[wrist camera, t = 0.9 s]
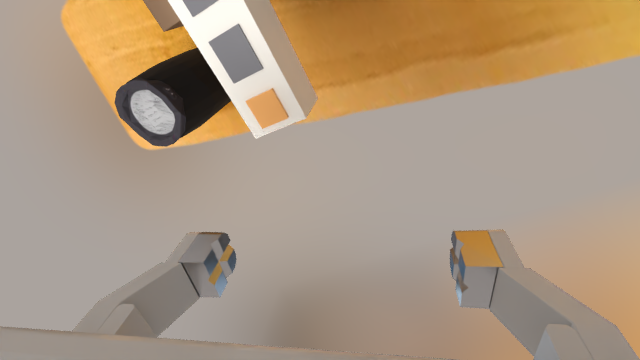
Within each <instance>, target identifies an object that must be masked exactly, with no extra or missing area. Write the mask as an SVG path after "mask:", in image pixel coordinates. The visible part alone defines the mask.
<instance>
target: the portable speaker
mask: <svg viewBox="0 0 640 360" xmlns="http://www.w3.org/2000/svg"><path fill="white" fill-rule="evenodd" d="M230 101H231V99H230V97H229V96H228V94H227V93H226V91H225V90H224V88H223V86H222V85H221V83H220V82H219V80H218V79H217V77H216V75H215V74H214V72H213V71H212V69H211V68H210V66H209V64H208V63H207V61H206V60H205V58H204V57H203V55H202V53H201V52H200V50H199V49H198V48H195V49H192V50H189V51H186V52H184V53H182V54H179V55H177V56H175V57H172V58H170V59H168V60H165V61H163V62H161V63H159V64H157V65H155V66H153V67H151V68H149V69H148V70H146V71H145V72H143V73H142V74H140V75H138V76H137V77H135V78H134V79H132V80H130V81H129V82H127V83H126V84H125V85H123V86H121V87H120V88H119V89H118V91H117V92H116V98H115V105H116V108H117V111H118V113H119V116H120V118H122V119H123V120H124V121H125V122H126V123H127V124H128V125H129V126H130V127H131V128H132V129H133V130H134V131H135V132H136V133H137V134H138V135H140V136H141V137H143V138H144V139H145V140H147V141H148V142H149V143H151V144H152V145H155V146H168V145H171V144H174V143H175V142H176V141H177V140H178V139H179V138H181V137H183V136H185V135H187V134H188V133H190V132H192V131H193V130H195V129H197V128H198V127H200V126H201V125H202V124H204V123H205V122H206V121H207V120H208V119H210V118H211V117H212V116H213V115H214V114H216V113H217V112H218V111H219V110H220V109H222V108H223V107H224V106H225V105H226V104H228V103H229V102H230Z"/></svg>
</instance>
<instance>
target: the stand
mask: <svg viewBox="0 0 640 360" xmlns="http://www.w3.org/2000/svg"><path fill="white" fill-rule="evenodd" d="M143 1H144V3H145V4H146V6H147V7H148V9H149V10H150V12H151V13H152V15H153V16H154V18H155V19H156V21H157V22H158V24H159V25H160V27H161V28H162V30H163V31H168V30H171V29H174V28H178V27H181V26H184V25H183V24H182V22H181V20H180V19H179V17H178V16H177V14H176V13H175V11H174V9H173V8H172V6H171V5H170V3H169V2H168V0H143Z"/></svg>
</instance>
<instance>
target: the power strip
mask: <svg viewBox="0 0 640 360" xmlns="http://www.w3.org/2000/svg"><path fill="white" fill-rule="evenodd" d="M168 2H169V3H170V5H171V6H172V8H173V9H174V11H175V13H176V14H177V16H178V17H179V19H180V20H181V22H182V24H183V25H184V27H185V28H186V30H187V31H188V33H189V35H190V36H191V38H192V39H193V41H194V42H195V44H196V46H197V47H198V49H199V50H200V52H201V53H202V55H203V57H204V58H205V60H206V61H207V63H208V64H209V66H210V68H211V69H212V71H213V72H214V74H215V75H216V77H217V79H218V80H219V82H220V83H221V85H222V86H223V88H224V90H225V91H226V93H227V94H228V96H229V97H230V99H231V101H232V102H233V104H234V105H235V107H236V108H237V110H238V112H239V113H240V115H241V116H242V118H243V119H244V121H245V123H246V124H247V126H248V127H249V129H250V130H251V132H252V134H253V135H254V137H255V138H258V137H261V136H263V135H266V134H268V133H271V132H273V131H276V130H278V129H281V128H283V127H286V126H288V125H291V124H293V123H296V122H298V121H300V120H303V119H305V118H307V116H308V114H309V113H310V111H311V109H312V108H313V106H314V104H315V102H316V101H317V99H318V97H317V95H316V93H315V91H314V89H313V87H312V85H311V83H310V81H309V79H308V77H307V75H306V73H305V71H304V69H303V67H302V65H301V63H300V61H299V59H298V57H297V55H296V53H295V51H294V49H293V47H292V45H291V43H290V41H289V39H288V37H287V35H286V33H285V31H284V29H283V27H282V25H281V23H280V21H279V19H278V17H277V15H276V13H275V11H274V9H273V7H272V5H271V3H270V1H269V0H168Z"/></svg>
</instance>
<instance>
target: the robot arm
mask: <svg viewBox="0 0 640 360" xmlns="http://www.w3.org/2000/svg"><path fill="white" fill-rule="evenodd" d="M451 241H452V245H453V248H452V249H450V268H451V273H452V277H453V279H454V280H456V293H457V297H458V300H459V304H460V307H470V308H485V309H490V311H491V312H492V313H493V314H494V315H495V316H496V317H497V319H498V320H499V321H500V322H501V323H502V324H503V325H504V326H505V327H506V328H507V329H508V330H509V331H510V332H511V333H512V334H513V335H514V336H515V337H516V338H517V339H518V340H519V341H520V343H522V345H523V346H524V347H525V348H526V349H527V350H528V351H529V352H530V353H531V354H532V355H533V356H534V359H533V360H640V359H639V358H638V356H637V355H636V353H635V352H634V351H633V349H632V348H631V346H630V345H629V343H628V342H627V340H626V339H625V338H624V336H623V335H622V333H621V332H620V330H619V329H618V328H617V326H616V325H614V324H613V323H611V322H610V321H608V320H607V319H605V318H604V317H602V316H601V315H599V314H598V313H596V312H595V311H593V310H592V309H590V308H589V307H587V306H586V305H584V304H583V303H581V302H580V301H578V300H577V299H575V298H574V297H572V296H571V295H569V294H568V293H566V292H565V291H563V290H562V289H560V288H559V287H557V286H556V285H554V284H553V283H551V282H550V281H548V280H547V279H545V278H544V277H542V276H541V275H540V274H538V273H536V272H535V271H533V270H532V269H531V268H524V266H523V264H522V262H521V260H520V258H519V256H518V254H517V253H516V251H515V249H514V247H513V245H512V243H511V241H510V239H509V238H508V235H507V234H506V232H505V231H504V230H472V231H471V230H469V231H453V232H452V237H451ZM229 242H230V239H229V236H228V234H226V233H218V232H214V233H213V232H201V233H200V232H196V233H195V232H190V233H188V234H186V236H185V237H184V238H183V239H182V241H181V242H180V243H179V245H178V246H177V247H176V249H175V250H174V251H173V253H172V254H171V255H170V256H169V258H168V259H167V260H166V262H165V263H160V264H158V265H156V266H155V267H153V268H152V269H150V270H148V271H147V272H145V273H143V274H142V275H140V276H138V277H137V278H135V279H134V280H132V281H131V282H129V283H127V284H126V285H124V286H122V287H121V288H119V289H117V290H116V291H114V292H112V293H111V294H109V295H108V296H106V297H104V298H103V299H101V300H99V301H98V302H97V303H96V304H95V305H94V307H93V308H92V309H91V310H90V311H89V312H88V313H87V314H86V316H85V317H84V318H83V319H82V320H81V321H80V323H79V324H78V325H77V326H76V327H75V328H74V329H73V330H72V332H71V331H57V330H43V329H29V328H15V327H1V326H0V360H454V359H441V358H428V357H413V356H399V355H386V354H371V353H358V352H357V353H356V352H344V351H330V350H317V349H302V348H288V347H275V346H263V345H248V344H234V343H221V342H208V341H207V342H206V341H194V340H180V339H167V338H157V337H158V336H159V335H160V334H161V333H162V332H163V331H164V330H165V329H166V328H167V327H169V326H170V325H171V324H172V323H173V322H174V321H175V320H176V319H177V318H178V317H180V315H182V314H183V313H184V312H185V311H186V310H187V309H188V308H189V307H190V306H192V305H193V304H194V303H195V302H196V301H197V300H198V299H199V297H221V295H222V292H223V291H224V289H225V287H226V285H227V279H226V278H227V277H228V276H229V275H230V274H232V273H233V270H234V268H235V264H236V253H235V251H234V249H233V248H232V247H231V246H230V245H228V244H229Z"/></svg>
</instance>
